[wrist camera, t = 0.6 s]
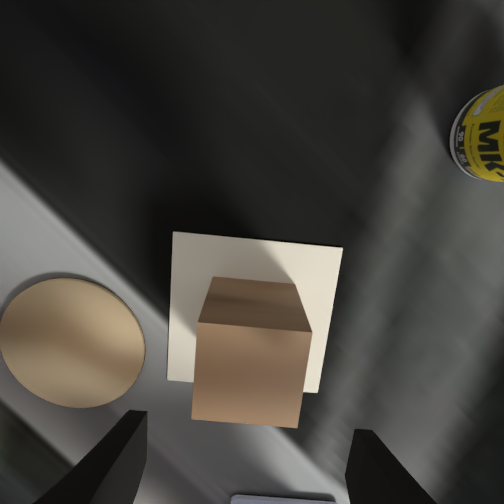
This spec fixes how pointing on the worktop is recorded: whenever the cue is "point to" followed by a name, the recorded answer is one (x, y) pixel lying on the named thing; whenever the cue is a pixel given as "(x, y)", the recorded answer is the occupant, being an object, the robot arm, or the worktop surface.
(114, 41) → the worktop surface
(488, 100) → the supplement bottle
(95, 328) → the cork coaster
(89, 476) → the robot arm
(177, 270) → the tile
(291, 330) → the walnut block
